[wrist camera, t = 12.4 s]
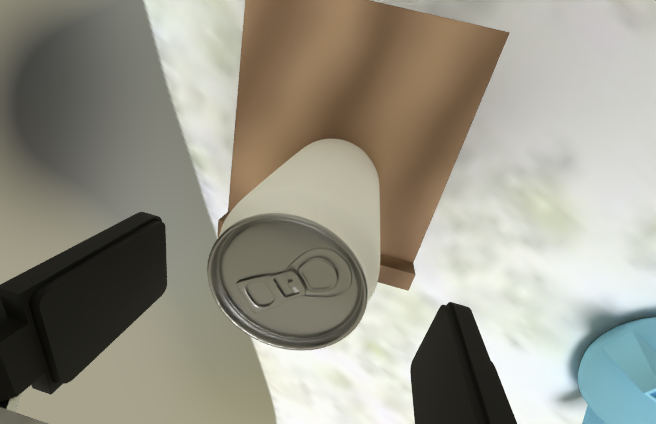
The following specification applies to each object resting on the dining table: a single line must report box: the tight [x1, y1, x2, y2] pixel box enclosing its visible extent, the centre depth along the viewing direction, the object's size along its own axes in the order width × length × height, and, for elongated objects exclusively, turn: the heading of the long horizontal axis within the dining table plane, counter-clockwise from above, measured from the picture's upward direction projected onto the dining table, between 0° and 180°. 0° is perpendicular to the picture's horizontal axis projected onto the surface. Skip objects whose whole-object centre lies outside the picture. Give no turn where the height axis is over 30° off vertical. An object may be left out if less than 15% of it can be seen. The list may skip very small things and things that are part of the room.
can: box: [207, 139, 380, 350], centre depth 15 cm, size 6×6×12 cm
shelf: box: [218, 0, 509, 290], centre depth 22 cm, size 15×17×8 cm
